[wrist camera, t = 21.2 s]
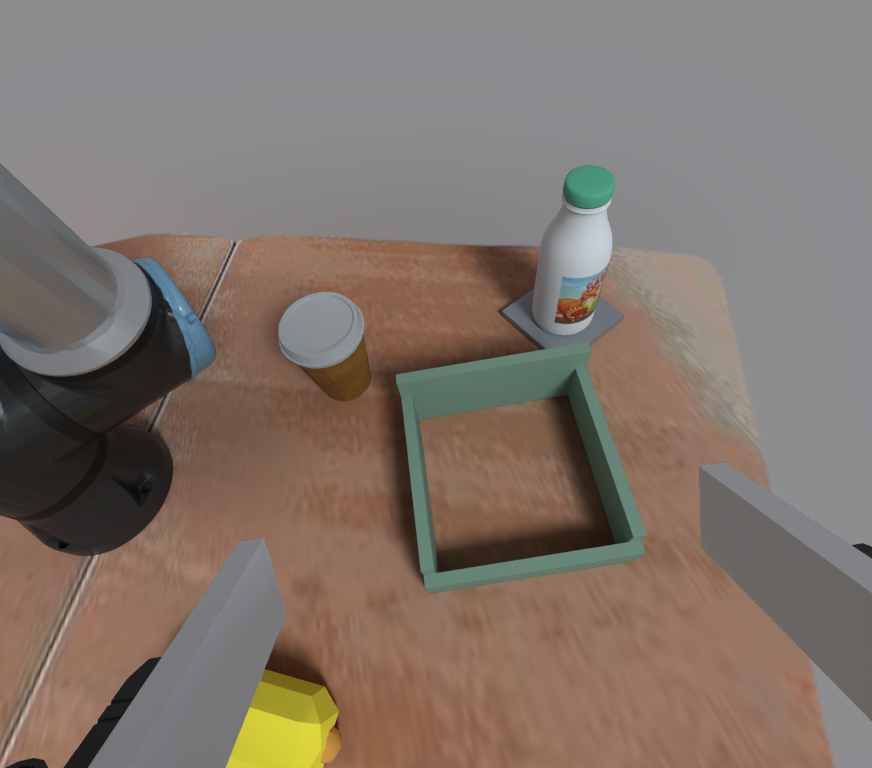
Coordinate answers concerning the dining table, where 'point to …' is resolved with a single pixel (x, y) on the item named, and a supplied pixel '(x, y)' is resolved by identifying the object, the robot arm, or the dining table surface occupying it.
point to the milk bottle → (574, 254)
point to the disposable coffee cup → (327, 343)
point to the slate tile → (526, 324)
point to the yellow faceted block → (287, 726)
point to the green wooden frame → (508, 386)
